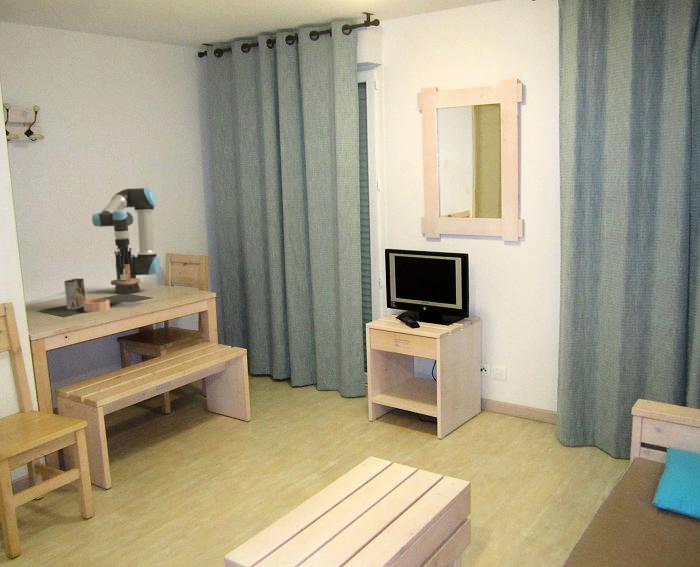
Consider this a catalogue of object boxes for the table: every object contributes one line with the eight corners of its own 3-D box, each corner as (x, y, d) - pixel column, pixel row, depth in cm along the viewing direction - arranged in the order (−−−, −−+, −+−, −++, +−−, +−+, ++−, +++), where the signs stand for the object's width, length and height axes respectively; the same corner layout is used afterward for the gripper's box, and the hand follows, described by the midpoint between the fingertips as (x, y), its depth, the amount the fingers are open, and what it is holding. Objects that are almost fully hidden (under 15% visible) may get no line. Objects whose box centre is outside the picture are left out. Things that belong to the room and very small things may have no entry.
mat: (123, 302, 399) (123, 302, 399) (144, 303, 396) (144, 302, 396) (109, 307, 386) (109, 306, 386) (131, 308, 382) (131, 307, 382)
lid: (121, 279, 399) (119, 262, 397) (146, 280, 395) (144, 262, 393) (105, 285, 384) (103, 267, 382) (130, 285, 380) (129, 267, 378)
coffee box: (76, 306, 393) (73, 278, 390) (86, 306, 392) (83, 278, 389) (66, 309, 384) (64, 281, 381) (77, 309, 383) (74, 281, 380)
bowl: (93, 307, 388) (93, 298, 387) (114, 307, 385) (114, 299, 384) (79, 312, 375) (78, 303, 374) (100, 312, 372) (99, 303, 371)
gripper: (124, 236, 393) (128, 276, 398) (107, 240, 377) (110, 282, 382) (136, 236, 392) (139, 276, 396) (119, 240, 375) (122, 282, 380)
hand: (125, 279), depth 389 cm, fingers closed on lid, 4 cm apart
